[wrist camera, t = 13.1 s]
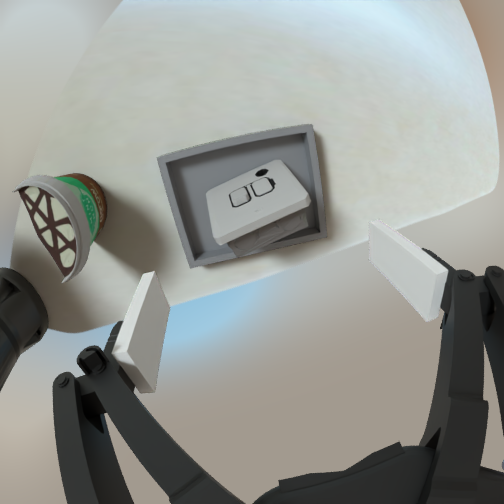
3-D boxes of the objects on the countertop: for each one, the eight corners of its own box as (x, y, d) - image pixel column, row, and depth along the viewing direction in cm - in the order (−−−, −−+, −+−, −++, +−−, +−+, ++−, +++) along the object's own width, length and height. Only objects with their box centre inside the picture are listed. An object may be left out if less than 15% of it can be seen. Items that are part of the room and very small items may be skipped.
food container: (132, 230, 33) (104, 268, 24) (96, 248, 33) (64, 287, 24) (90, 144, 27) (46, 155, 18) (56, 168, 28) (10, 187, 19)
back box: (191, 259, 35) (190, 268, 33) (161, 155, 29) (156, 157, 27) (320, 229, 35) (327, 237, 33) (305, 124, 29) (312, 124, 27)
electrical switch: (279, 156, 30) (304, 178, 22) (294, 195, 33) (322, 228, 25) (204, 190, 31) (203, 224, 23) (224, 226, 34) (229, 269, 26)
